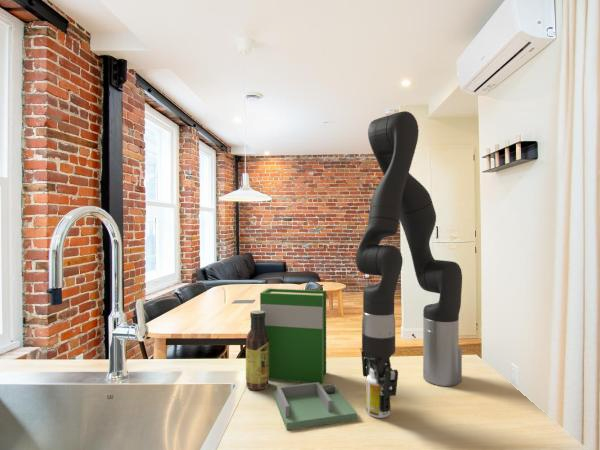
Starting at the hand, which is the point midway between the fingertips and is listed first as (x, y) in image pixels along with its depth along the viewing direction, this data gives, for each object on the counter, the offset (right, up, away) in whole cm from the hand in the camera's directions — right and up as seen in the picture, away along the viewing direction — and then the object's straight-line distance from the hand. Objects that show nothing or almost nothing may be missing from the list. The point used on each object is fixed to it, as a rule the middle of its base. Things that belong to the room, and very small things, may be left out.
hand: (378, 403), depth 85 cm
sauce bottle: (-30, -2, +14) cm, 33 cm away
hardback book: (-20, -2, +21) cm, 29 cm away
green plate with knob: (-15, -2, +2) cm, 15 cm away
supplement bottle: (0, -2, 0) cm, 2 cm away
